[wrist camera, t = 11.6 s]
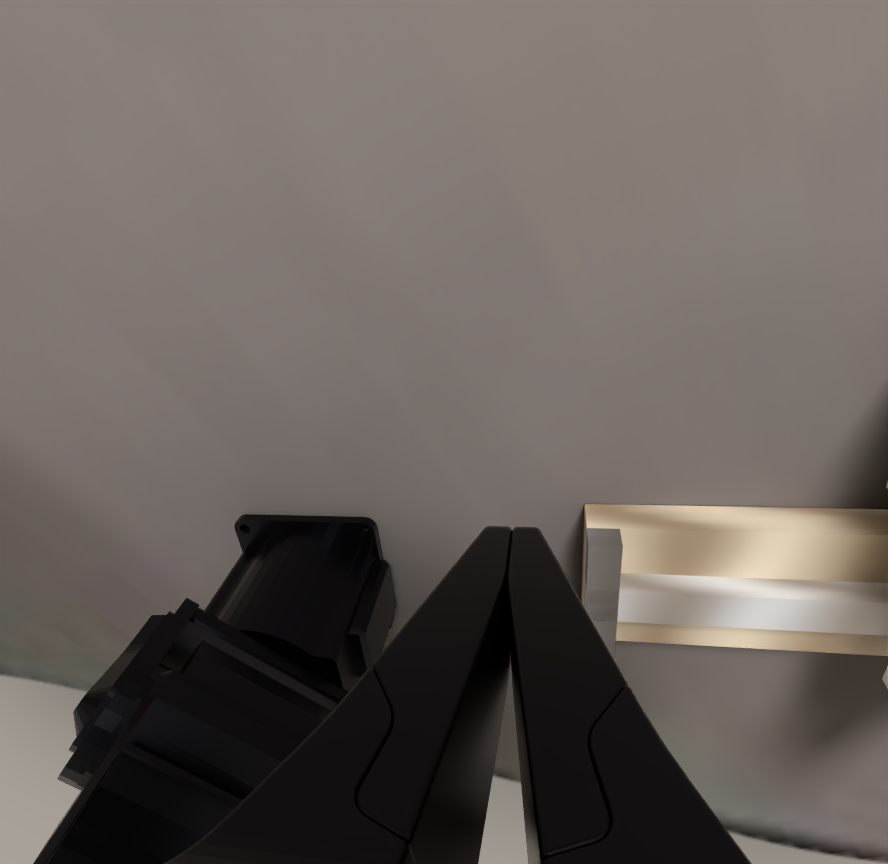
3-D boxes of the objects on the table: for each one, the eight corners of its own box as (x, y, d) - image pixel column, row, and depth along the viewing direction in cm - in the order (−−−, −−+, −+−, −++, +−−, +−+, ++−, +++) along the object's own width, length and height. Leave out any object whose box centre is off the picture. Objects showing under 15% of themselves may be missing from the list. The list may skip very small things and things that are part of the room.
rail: (581, 611, 26) (583, 658, 24) (584, 504, 23) (588, 545, 21) (1048, 635, 23) (1100, 690, 21) (1121, 513, 20) (1190, 563, 18)
